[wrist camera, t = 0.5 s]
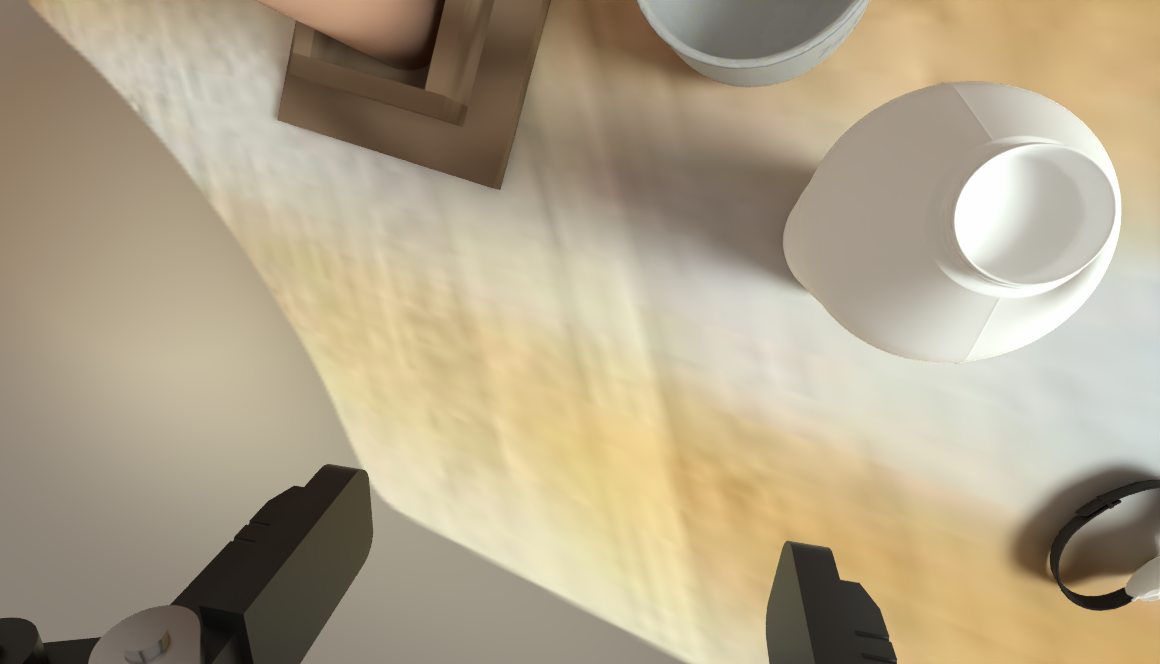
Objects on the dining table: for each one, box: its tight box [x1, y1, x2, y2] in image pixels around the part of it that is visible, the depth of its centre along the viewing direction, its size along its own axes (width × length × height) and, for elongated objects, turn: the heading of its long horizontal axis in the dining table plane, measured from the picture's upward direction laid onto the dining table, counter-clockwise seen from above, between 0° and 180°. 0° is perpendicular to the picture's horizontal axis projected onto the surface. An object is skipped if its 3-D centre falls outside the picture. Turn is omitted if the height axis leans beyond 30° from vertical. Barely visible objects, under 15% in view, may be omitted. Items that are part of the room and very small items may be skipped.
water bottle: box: [783, 81, 1121, 364], centre depth 21 cm, size 9×6×25 cm
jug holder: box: [278, 0, 550, 190], centre depth 37 cm, size 16×16×4 cm
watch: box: [1050, 480, 1160, 611], centre depth 30 cm, size 8×5×4 cm, turn 138°
